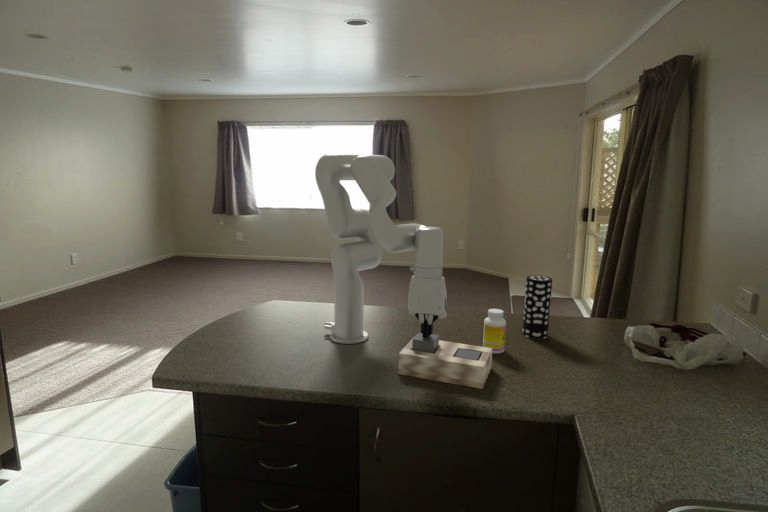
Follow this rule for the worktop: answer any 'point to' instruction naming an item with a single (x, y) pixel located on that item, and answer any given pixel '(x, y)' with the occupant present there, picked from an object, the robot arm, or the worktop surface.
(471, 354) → the cap
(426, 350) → the cap
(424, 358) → the switch box
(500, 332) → the supplement bottle
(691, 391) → the worktop surface
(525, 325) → the white-spotted black cylinder
